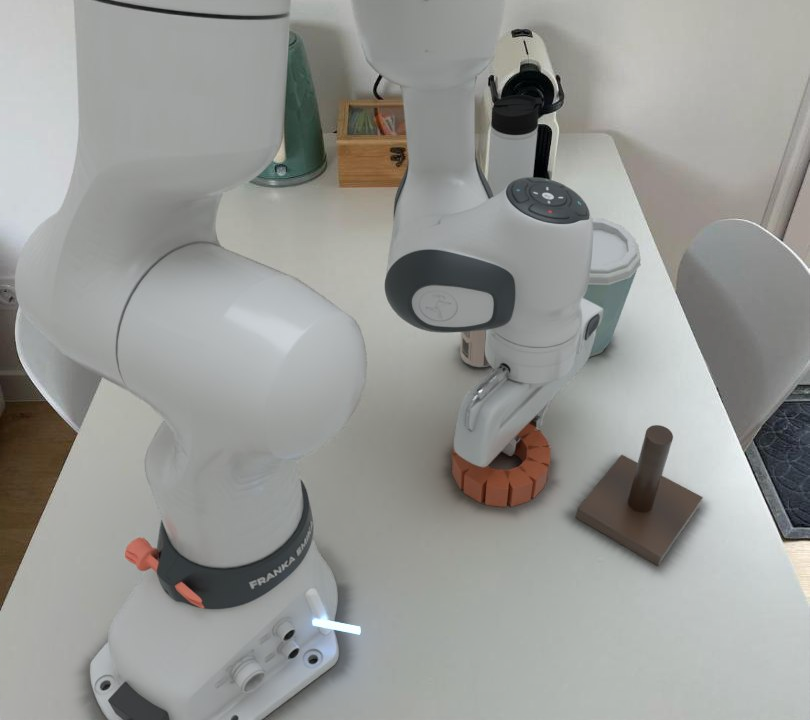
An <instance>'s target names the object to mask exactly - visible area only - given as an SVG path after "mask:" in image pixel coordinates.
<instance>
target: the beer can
mask: <svg viewBox="0 0 810 720" xmlns="http://www.w3.org/2000/svg"><path fill="white" fill-rule="evenodd" d="M485 339H486V330H481V331H469V332H460V350H459V351H460V352H459V353H460V354H459V355H460V358H461V360H462V361H463V362H464V363H465V364H467V365H469V366H471V367H475V368H485V367H491V366H490V364H489V363H488V361H487V359H486V356H485Z"/></svg>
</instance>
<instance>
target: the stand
mask: <svg viewBox="0 0 810 720" xmlns="http://www.w3.org/2000/svg"><path fill="white" fill-rule="evenodd" d="M673 439H674V434H673V433H672V431H671V430H670V429H669V428H668V427H666V426H664V425H659V424H655V425H651V426H649V427H647V428H646V430H645V434H644V438H643V441H642V445H641V449H640V453H639V457H638V461H635V460H633V459H631V458H630V457H628V456H625V455H624V454H621V455H620V456H619V457H618V458H617V460H616V461H615V462H614V463H613V464H612V466H610V468H609V469H608V470H607V472H606V473H605V474H604V476H603V477H602V478H601V479H600V480H599V482H598V483H597V484H596V485H595V487H594V488H593V489H592V490H591V491H590V492H589V494H588V495H587V496H586V497H585V498H584V500H583V501H582V502H581V504H579V506H578V507H577V509H576V513H575V514H576V515H575V519H578V520H579V521H581V522H583V523H584V524H586V525H588V526H590V528H592V529H594V530H595V531H598V532H600V533H601V534H603V535H605V536H607V537H608V538H610V539H611V540H613V541H614V542H617V543H618V544H620V545H621V546H623V547H625V548H627V549H628V550H630V551H632V552H634V553H635V554H637V555H639V556H640V557H642V558H644V559H645V560H647V561H648V562H650V563H652V564H654V565H655V566H657V567H659V566H660V564H661V563H662V562H663V560H664V559H665V557H666V556H667V554H668V553H669V551H671V549H672V547H673V545H674V544H675V543H676V542H677V540H678V539H679V537H680V535H681V534H682V533H683V531H684V529H686V527H687V525H688V524H689V522H690V521H691V519H692V518H693V516H694V515H695V514H696V512H697V510H698V509H699V508H700V506H701V504H702V500H703V496H701V495H700V494H697V493H696V492H694V491H691V490H690V489H688V488H686V487H684V486H682V485H681V484H678V483H677V482H675V481H673V480H671V479H669V478H668V477H666V476H664V475H663V473H664V470H665V467H666V463H667V460H668V457H669V453H670V450H671V446H672V443H673Z"/></svg>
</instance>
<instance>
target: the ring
mask: <svg viewBox="0 0 810 720" xmlns="http://www.w3.org/2000/svg"><path fill="white" fill-rule="evenodd" d="M517 436H518V437H520V438H521V443H520V448H519V449H518V450H517V451H516V452H515V453H514V454H513V455H514V456H516V457H519V459H520V461H521V462H522V463H521V464H519V466H516V467H513V468H510V469H500V468H492V467H491V466H489V465H488V466H486V467H479V466H476V465H474V464H472V463H470V462H468V461H466V460H465V459H463V458H462V457H460V456H459V455H458V454H457V453H456V452H455V451H454V444H453V445H452V451H451V471H452V476H453V478H454V480H455V482H456V484H457V486H458V488H459V490H463V494H464V495H466V496H468V497H470V498H471V499H473V500H474V501H476V502H478V503H480V504H482V502H483V501H484V505H485V506H491V507H492V506H493V507H500V508H507V507H508V504H509V506H510V507H511V508H512V507H515V506H518V505H522V504H525V503H528V502H531V499H532V498H533V499H535V498H536V497H537V496H538V495H539V494H540V492H541V491H542V490H543V489H544V488H545V486H546V485H547V483H548V479H549V471H550V465H551V464H550V463H551V449H552V447H550V443H549V441H548V439H547V438H546V437H545V435H544V433H543V432H542V431H541V429H537V430H536V427H535V426H533V425H531V424H530V423H528V424H527V425H526V426H525V427H524V428H523V429H522V430H521V431H520V432H519V434H518V435H517Z"/></svg>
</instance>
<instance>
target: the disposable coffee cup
mask: <svg viewBox="0 0 810 720" xmlns="http://www.w3.org/2000/svg"><path fill="white" fill-rule="evenodd" d="M592 223H593V251H592V261H591V269H590V276H589V282H588V287H587V290H586V293H585V295H584V297H583V298H584V299H586V300H588V301H590V302H592V303H594V304H596V305H598V306H600V307H601V308H603V317H602V321H601V323H600V325H599V326H598V327H597V329H596V335H595V339H594V343H593V347H592V351H591V354H590V356H589V358H591V357H594V356H598V355H600V354H602V353H603V352H604V350H606V348H607V347H608V346H609V344H610V343H611V341H612V339H613V336H614V333H615V331H616V328H617V326H618V322H619V320H620V318H621V314H622V311H623V309H624V307H625V304H626V301H627V299H628V295H629V293H630V290H631V288H632V285H633V283H634V279H635V277H636V274H637V271H638V269H639V268H640V267H641V266H642V264H641V259H642V258H641V253H640V248H639V244H638V242H636V238H635V237H634V236H633V235H632V234H631V233H630V232H629V231H628V230H627V229H626V228H625V227H624V225H620V224H619V223H617V222H613V221H611V220H608V219H605V218H602V217H601V218H599V217H592Z"/></svg>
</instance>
